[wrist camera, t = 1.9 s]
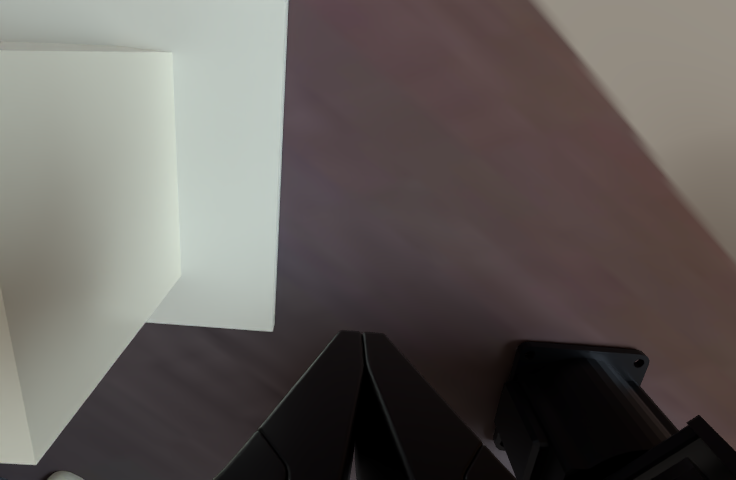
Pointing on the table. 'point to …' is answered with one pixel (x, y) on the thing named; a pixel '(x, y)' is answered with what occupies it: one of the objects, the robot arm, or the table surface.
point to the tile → (79, 224)
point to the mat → (202, 136)
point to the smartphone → (64, 476)
